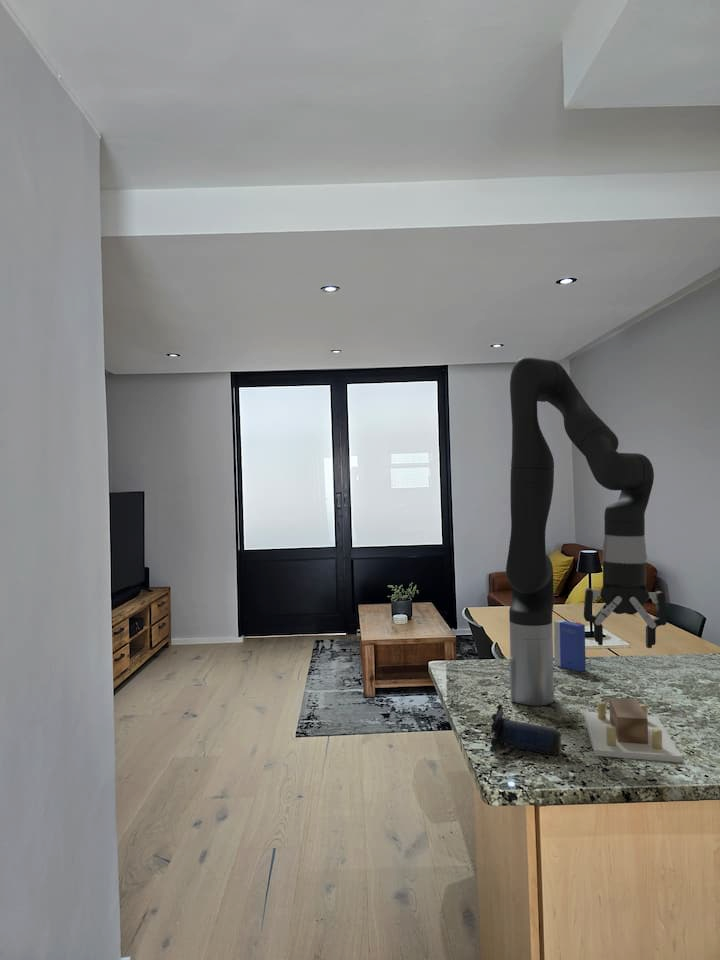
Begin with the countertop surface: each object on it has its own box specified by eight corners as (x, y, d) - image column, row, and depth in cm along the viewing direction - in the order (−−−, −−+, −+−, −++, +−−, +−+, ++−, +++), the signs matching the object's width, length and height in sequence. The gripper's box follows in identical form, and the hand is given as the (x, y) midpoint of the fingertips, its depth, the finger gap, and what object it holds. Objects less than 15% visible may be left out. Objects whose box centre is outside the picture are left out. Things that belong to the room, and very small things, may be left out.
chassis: (594, 755, 114) (594, 732, 114) (583, 716, 134) (583, 696, 134) (681, 762, 111) (681, 738, 111) (657, 721, 130) (657, 701, 130)
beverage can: (488, 760, 117) (558, 772, 112) (488, 720, 115) (559, 731, 111) (496, 733, 125) (561, 743, 121) (496, 695, 124) (562, 705, 119)
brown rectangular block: (618, 742, 118) (617, 716, 118) (609, 720, 128) (609, 697, 128) (648, 744, 116) (647, 718, 116) (637, 722, 127) (636, 699, 127)
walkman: (585, 670, 167) (584, 623, 167) (578, 672, 166) (577, 624, 166) (561, 663, 174) (560, 618, 174) (554, 665, 172) (553, 619, 172)
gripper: (661, 558, 124) (661, 643, 124) (582, 556, 128) (582, 638, 128) (669, 562, 117) (669, 653, 117) (585, 560, 121) (585, 648, 121)
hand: (624, 645), depth 122 cm, fingers open, 8 cm apart
